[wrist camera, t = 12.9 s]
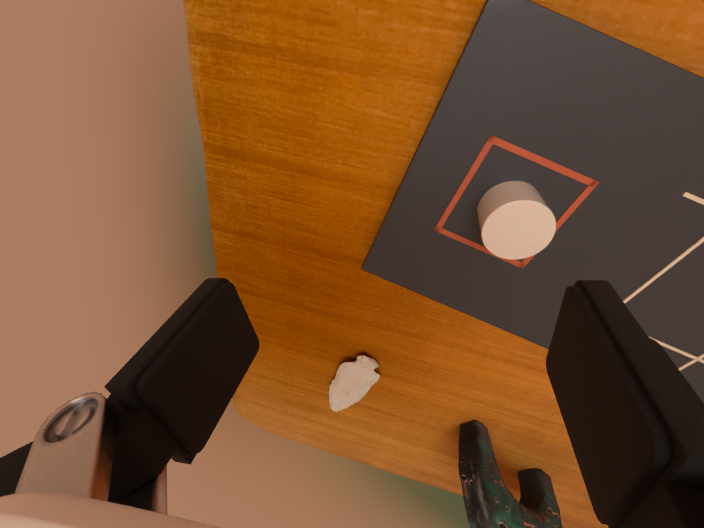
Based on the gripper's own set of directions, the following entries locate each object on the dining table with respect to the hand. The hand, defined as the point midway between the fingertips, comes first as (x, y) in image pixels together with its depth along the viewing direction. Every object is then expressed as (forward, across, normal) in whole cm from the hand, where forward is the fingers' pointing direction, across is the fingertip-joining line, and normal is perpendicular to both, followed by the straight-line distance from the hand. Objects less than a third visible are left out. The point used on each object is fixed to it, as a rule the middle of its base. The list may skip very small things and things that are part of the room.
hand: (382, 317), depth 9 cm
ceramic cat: (+20, -12, +47) cm, 53 cm away
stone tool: (+21, +10, +33) cm, 41 cm away
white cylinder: (+20, -7, +6) cm, 22 cm away
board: (+20, -24, +15) cm, 35 cm away
